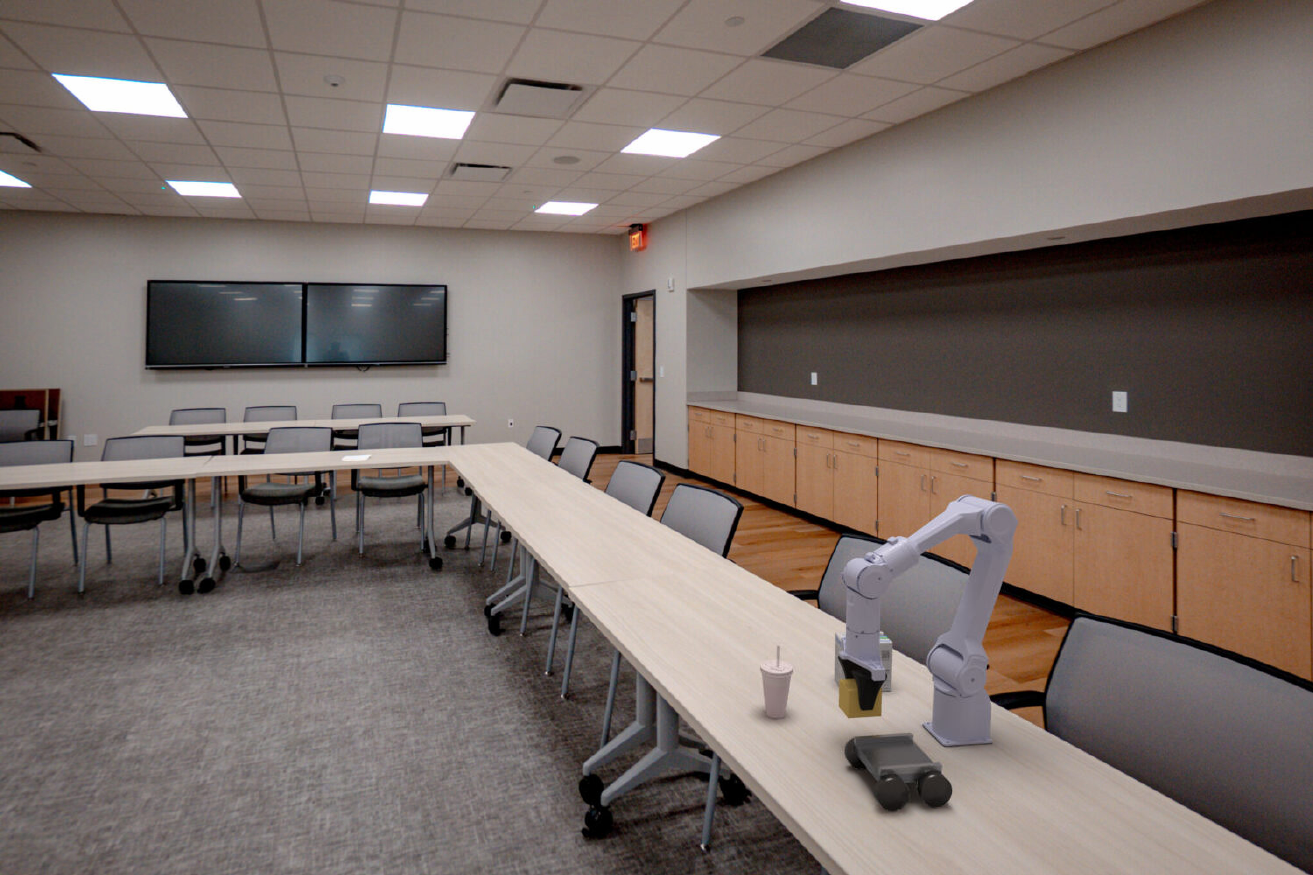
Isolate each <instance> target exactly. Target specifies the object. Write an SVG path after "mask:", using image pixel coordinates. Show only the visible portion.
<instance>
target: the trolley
mask: <svg viewBox="0 0 1313 875" xmlns="http://www.w3.org/2000/svg"><path fill="white" fill-rule="evenodd" d="M843 751H844V752H843V754H844V757H845V759H846V761H847V762H848V763H849V765H850V766H851V767H852V768H854V769H855V770H866V769H867V770H868V771H869V773H870V774H871V775H872V776H873V777H874V779H875V781H876V782H875V784H874V788H873V795H874V798H875V800H876V802H877V803H878V804H879V805H880V807H881V808H882V809H883V810H885V811H888V812H897V811H899V810H901V809H903V808H904V807H905V806H906V805H907V803H908V802H909V799H910V790H909V787H908V785H907V784H910V783H916V792H917V795H918V797H919V798H920V799H921V800H922V801H923V803H924V804H925V805H926V806H927V807H930V808H934V809H935V808H936V809H937V808H941V807H943V806H945V805H946V804H947V803H948V802H949V801H950V799H951V798H952V796H953V785H952V783H951V782H950V780H948V778H947V777H946V776H945V775H944V774H943V773H942V769H943V765H942V763H941V762H940V761H938V762H937V761H935V762H934V761H933V760H932V759H931V758H930V757H929V756H928V755H927V754H926V753H925V751H923V750H922V749H921V748H920V746H919V745H918V744H917V743H916V742H915V741H914V734H913V733H912V732H901V733H887V734H873V735H872V734H871V735H859V736H858V735H857V736H854V737H852V738H851V739H849V741H847V742H846V744H845V746H844V750H843Z"/></svg>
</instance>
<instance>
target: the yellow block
mask: <svg viewBox="0 0 1313 875" xmlns="http://www.w3.org/2000/svg"><path fill="white" fill-rule="evenodd" d="M882 704H883V691H882V688H880V690H879V692H878V695H877V698H876V702H875V705H874V708H873V710H866V711H862V710H861V709H860V706H859V698H858V689H857V684H856V681H855V679H839V686H838V708H839V709H840V710H841V711H842V712H843V714H844V715H845V716H846V717H847V718H848V719H858V718H860V719H861V718H874V717H875V718H876V717H882V713H883V712H882V711H883V710H882V708H883V707H882V706H883V705H882Z"/></svg>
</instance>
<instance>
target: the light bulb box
mask: <svg viewBox="0 0 1313 875" xmlns="http://www.w3.org/2000/svg"><path fill="white" fill-rule="evenodd" d="M842 637H846V631H841V632H839V631H835V633H834V639H835V640H834V681H835V682H836V684H837V686H838V687H839V679H845V675H844V671H843V669H842V666H841V664H840V662H839V660H838V656H839V652H840V651H844V649H842V648H841V638H842ZM879 653H880V655H881V660H882V665H883V667H884V668H885V673H886V674H887V679H886V681H885V682H884V683H883V685H882V686H881V688H882V692H891V691H892V674H893V672H892V671H893V641H892V640H891V639H890V638H889V637H888V636H887V635H886V634H885V633H884V632H883V631H881V630H880V643H879Z"/></svg>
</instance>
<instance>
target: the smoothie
mask: <svg viewBox="0 0 1313 875" xmlns="http://www.w3.org/2000/svg"><path fill="white" fill-rule="evenodd" d="M780 648H781V647H780V645H779V644H777V645H776V659H767V660H765V661H763V662H761V663H760V665H759V666H760V667H759V671H760V673H761V679H762V686H763V688H762V689H763V698H764V706H765V714H766V717H769V718H771V719H775V720H776V719H777V720H778V719H783V718H784V717H785V716H786V713H787V706H788V700H789V693H790V692H789V691H790V685H791V679H792V675H793V674H794V666H793V665H792V664H791V663H790V662H788V661H785V660H780V657H781V656H780Z"/></svg>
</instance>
